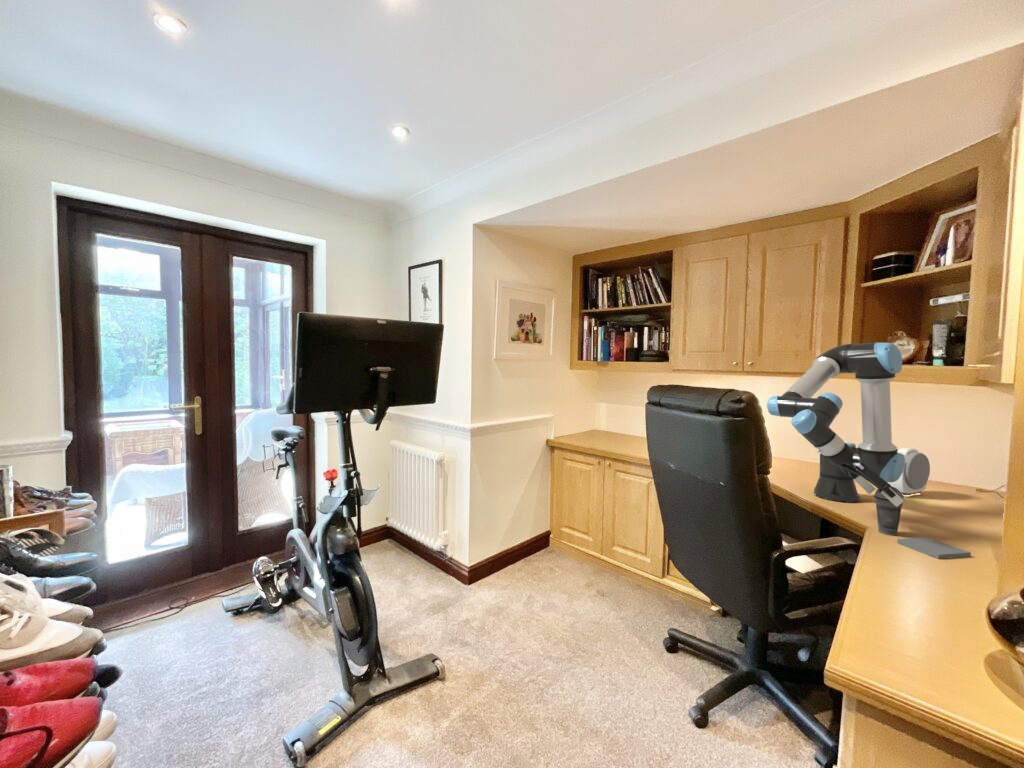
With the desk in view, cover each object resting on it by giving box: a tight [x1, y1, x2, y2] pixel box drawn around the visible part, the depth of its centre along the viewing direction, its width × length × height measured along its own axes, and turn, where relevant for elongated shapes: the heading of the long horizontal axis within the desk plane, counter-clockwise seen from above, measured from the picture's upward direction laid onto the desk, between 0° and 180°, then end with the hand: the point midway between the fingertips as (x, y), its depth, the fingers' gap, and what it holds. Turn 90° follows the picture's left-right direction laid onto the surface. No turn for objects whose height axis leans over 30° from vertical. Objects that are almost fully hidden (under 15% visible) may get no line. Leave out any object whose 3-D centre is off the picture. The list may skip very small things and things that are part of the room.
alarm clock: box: [888, 447, 931, 495], centre depth 181 cm, size 18×8×20 cm, turn 110°
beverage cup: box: [873, 472, 904, 537], centre depth 137 cm, size 7×7×20 cm
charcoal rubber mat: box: [896, 537, 972, 559], centre depth 124 cm, size 11×11×1 cm
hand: (885, 497), depth 136 cm, fingers open, 13 cm apart
